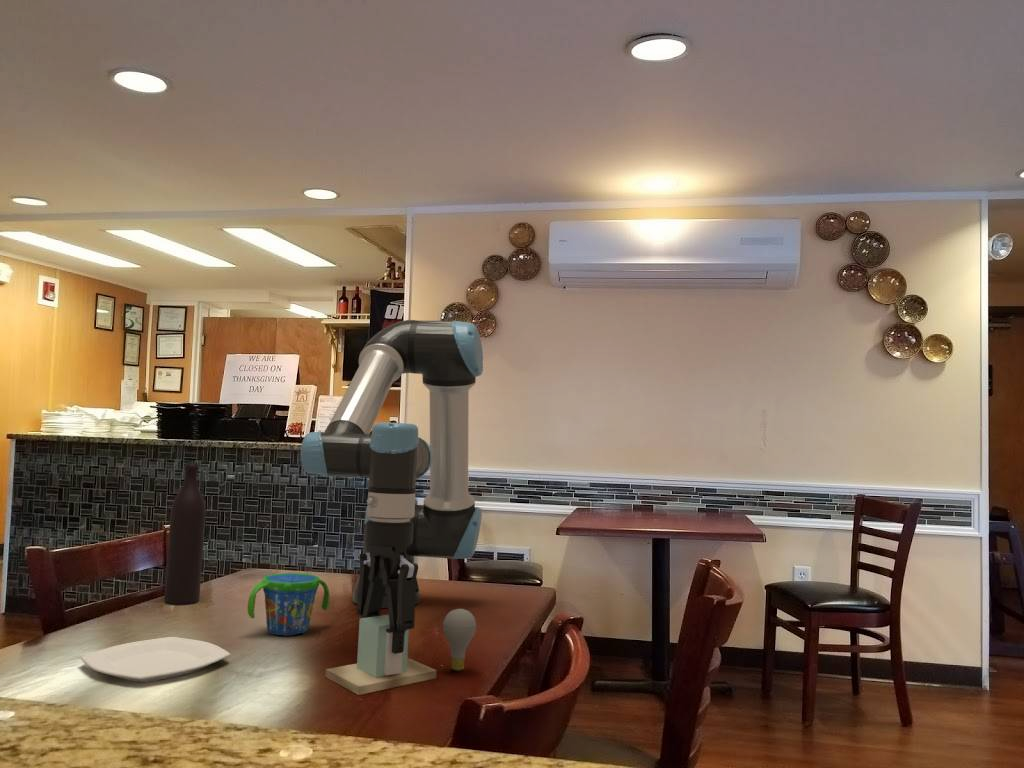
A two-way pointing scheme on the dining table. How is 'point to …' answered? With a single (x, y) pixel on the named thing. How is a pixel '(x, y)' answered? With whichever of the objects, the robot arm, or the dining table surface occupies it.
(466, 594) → the dining table surface
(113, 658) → the plate
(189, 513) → the wine bottle
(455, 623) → the light bulb
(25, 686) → the dining table surface
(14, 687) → the dining table surface
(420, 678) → the stand
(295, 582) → the snack cup
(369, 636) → the grey-green block
